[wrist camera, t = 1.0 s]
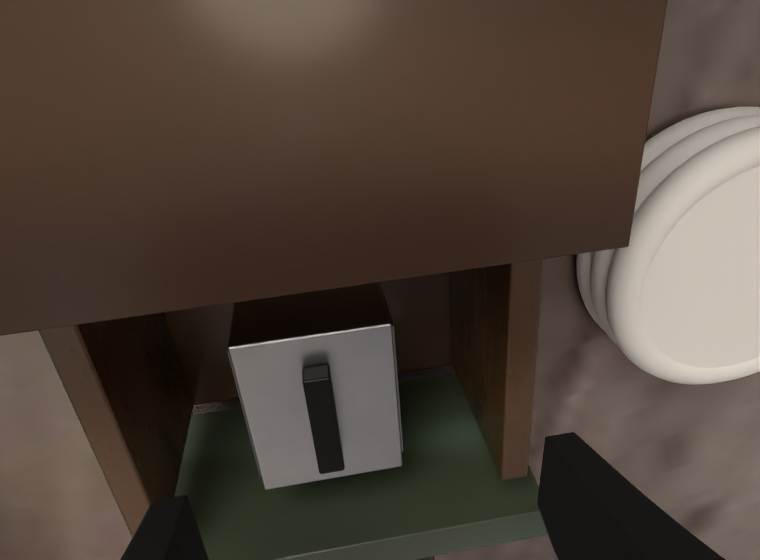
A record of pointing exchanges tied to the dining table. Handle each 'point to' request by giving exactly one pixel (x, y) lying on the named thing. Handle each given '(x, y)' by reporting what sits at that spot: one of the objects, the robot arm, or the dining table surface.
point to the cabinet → (307, 145)
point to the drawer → (337, 495)
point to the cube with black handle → (318, 383)
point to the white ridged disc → (688, 255)
